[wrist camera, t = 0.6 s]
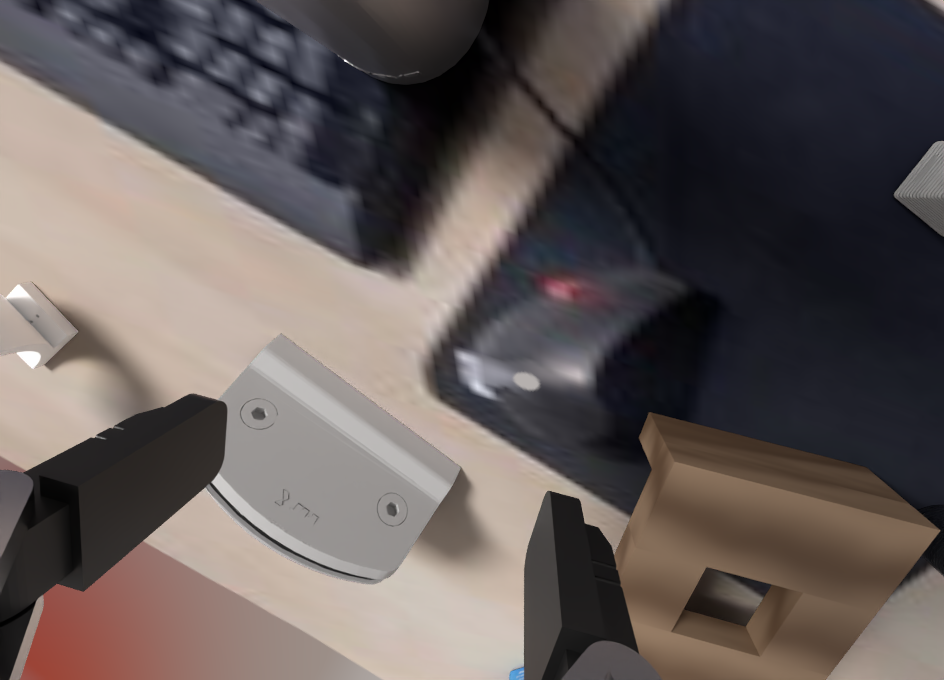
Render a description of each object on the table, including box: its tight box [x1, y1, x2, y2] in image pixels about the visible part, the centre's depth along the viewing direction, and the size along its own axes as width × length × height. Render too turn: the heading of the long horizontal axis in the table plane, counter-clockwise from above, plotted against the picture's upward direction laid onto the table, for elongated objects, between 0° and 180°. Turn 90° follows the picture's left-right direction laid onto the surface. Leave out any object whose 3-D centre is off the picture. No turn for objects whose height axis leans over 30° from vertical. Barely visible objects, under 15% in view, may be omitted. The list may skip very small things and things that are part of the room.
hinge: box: [205, 334, 461, 584], centre depth 29 cm, size 17×5×10 cm, turn 52°
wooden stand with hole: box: [614, 412, 941, 680], centre depth 29 cm, size 18×14×6 cm
